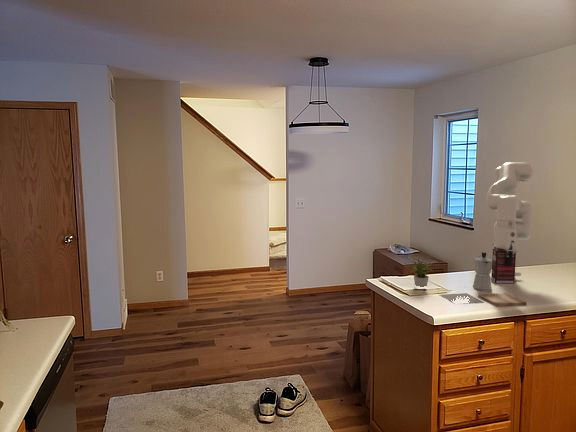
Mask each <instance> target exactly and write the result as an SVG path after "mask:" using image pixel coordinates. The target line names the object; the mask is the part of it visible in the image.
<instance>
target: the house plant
mask: <svg viewBox="0 0 576 432" xmlns="http://www.w3.org/2000/svg"><path fill="white" fill-rule="evenodd" d="M416 258H417V262H416V260H415V259H414V258H413V257H411V259H412V260H411V259H409V262H411V265H413V266H412V269H410V273H412V272H415V273H416V274H414V275H413V278H414V279H413V280H414V286H415V285H416V286H420V287H424V286H428V282H429V276H428V274H429V273H432V271H433V269H431V268H428V267H429V266H431V265H432V264H433V263H434V262H436V260H435V261H432V262H430V263H429V260H426V262H425V264H424V265H423V261H424V260H421V261H420V259H419V257H418V256H416ZM423 258H425V256H424V257H423ZM407 269H409V268H407Z"/></svg>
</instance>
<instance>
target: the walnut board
mask: <svg viewBox="0 0 576 432" xmlns="http://www.w3.org/2000/svg"><path fill="white" fill-rule="evenodd" d="M477 298H478V299H480V300H483V301H484V302H487V303H488V304H491V305H493V306H495V307H497V308H499V307H512V306H514V307H515V306H526V305H527V302H526V301H524V300H522V299H519V298H517V297H516V296H513V295H511V294H509V293H506V292H500V293H498V292H497V293H483V294H482V293H481V294H480V293H479V294H477Z"/></svg>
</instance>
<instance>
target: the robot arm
mask: <svg viewBox="0 0 576 432" xmlns="http://www.w3.org/2000/svg"><path fill="white" fill-rule="evenodd" d="M533 167H534V166H533V165H532V164H531V163H530V162H525V161H523V162H520V161H519V162H515V161H513V162H512V161H511V162H505V163H503V164H502V165H501V166H498V167H497V168H495V169H494V172H493V177H494V183H493V184H492V185H491V186H490V187H489V188H488V191H487V194H486V200H485V201H486V202H485V203H486V207H487V209H488V210H490V211H496V221H495V223H494V225H493V235H494V236H493V237H494V239H493V243H492V247H493V249H502V250H505V252H506V257H505V266H512V257H513V255H514V254H515V253H516V254H517V252H518V240H521V241H527V240H529V239H530V238H531V236H532V226H533V225H532V223H533V222H532V221H533V207H532V203H531V202H530V201H528V200H522V198H521V197H520V196H519V195H517V193H518V192H517V188H518V186H519V184H528V183H530V182H531V181H532V178H533V175H534V168H533ZM518 219H519V220H521V221H517V220H518ZM509 249H510V250H509ZM508 251H510V253H508ZM491 276H492V274H490V279H491ZM521 276H522V273H521V272H520V271H519V272H516V271H515V282H516V281H517V278H516V277H521Z"/></svg>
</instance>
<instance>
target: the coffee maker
mask: <svg viewBox="0 0 576 432" xmlns="http://www.w3.org/2000/svg"><path fill="white" fill-rule="evenodd" d="M473 261H474V272H475V275H474V279H473V284H472V288H473V289H475V290H479V291H491V290H493V289H492V283H491V279H490V275H491V274H492V259H491V258H488V257H487V252H481V256H478V257H474V259H473Z"/></svg>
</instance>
